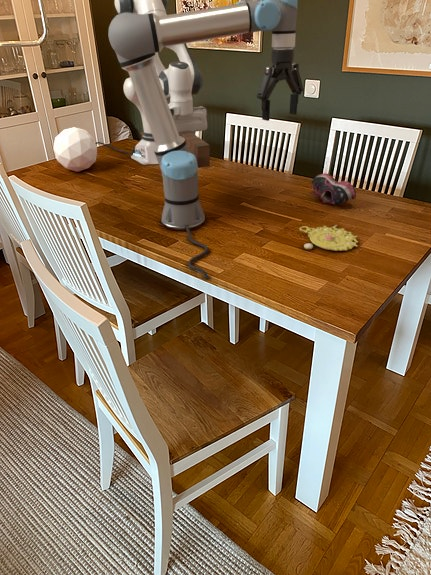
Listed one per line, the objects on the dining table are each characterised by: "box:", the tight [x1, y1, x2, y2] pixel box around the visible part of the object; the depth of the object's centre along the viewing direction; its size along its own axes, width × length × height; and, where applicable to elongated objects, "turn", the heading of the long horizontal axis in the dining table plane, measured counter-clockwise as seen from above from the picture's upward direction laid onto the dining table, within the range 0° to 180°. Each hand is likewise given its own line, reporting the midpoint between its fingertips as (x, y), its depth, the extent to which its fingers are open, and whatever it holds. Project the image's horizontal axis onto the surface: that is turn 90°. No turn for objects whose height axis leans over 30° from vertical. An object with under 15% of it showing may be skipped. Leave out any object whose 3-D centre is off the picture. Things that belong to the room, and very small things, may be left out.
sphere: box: [52, 126, 98, 173], centre depth 205 cm, size 19×20×20 cm
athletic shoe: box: [309, 173, 357, 206], centre depth 167 cm, size 11×22×12 cm
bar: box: [179, 131, 211, 169], centre depth 174 cm, size 28×5×8 cm, turn 22°
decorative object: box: [299, 224, 359, 252], centre depth 141 cm, size 21×2×20 cm
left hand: (183, 143), depth 182 cm, fingers closed on bar, 4 cm apart
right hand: (279, 117), depth 155 cm, fingers open, 13 cm apart
